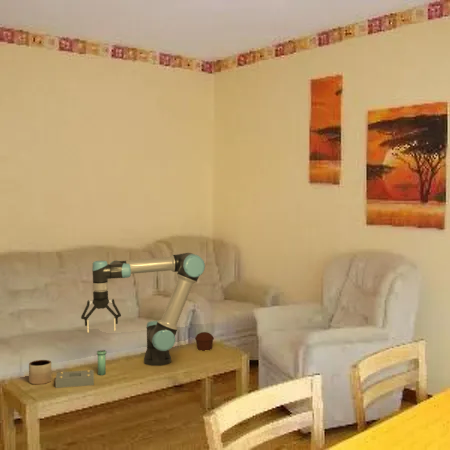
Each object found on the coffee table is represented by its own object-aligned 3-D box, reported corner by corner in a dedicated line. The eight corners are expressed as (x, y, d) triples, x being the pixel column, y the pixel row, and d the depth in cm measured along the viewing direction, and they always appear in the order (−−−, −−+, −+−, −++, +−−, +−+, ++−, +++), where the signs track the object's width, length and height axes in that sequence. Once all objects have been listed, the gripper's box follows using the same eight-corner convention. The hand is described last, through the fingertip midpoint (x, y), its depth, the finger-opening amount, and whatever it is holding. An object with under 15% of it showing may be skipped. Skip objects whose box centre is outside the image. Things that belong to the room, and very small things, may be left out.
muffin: (217, 348, 350) (217, 332, 350) (206, 352, 342) (206, 335, 341) (203, 345, 358) (202, 329, 357) (191, 349, 349) (191, 333, 349)
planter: (33, 378, 294) (33, 359, 293) (54, 378, 293) (54, 359, 293) (25, 385, 283) (25, 365, 282) (47, 385, 282) (47, 365, 282)
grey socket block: (93, 377, 294) (93, 368, 294) (93, 385, 282) (93, 375, 282) (57, 380, 290) (56, 371, 290) (55, 387, 278) (55, 378, 278)
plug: (106, 372, 303) (106, 350, 302) (106, 375, 298) (106, 352, 297) (96, 373, 302) (96, 350, 301) (97, 375, 297) (96, 352, 296)
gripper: (124, 288, 304) (125, 327, 305) (75, 290, 299) (77, 331, 300) (125, 290, 297) (126, 331, 298) (75, 293, 291) (76, 334, 292)
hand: (101, 331), depth 299 cm, fingers open, 13 cm apart
